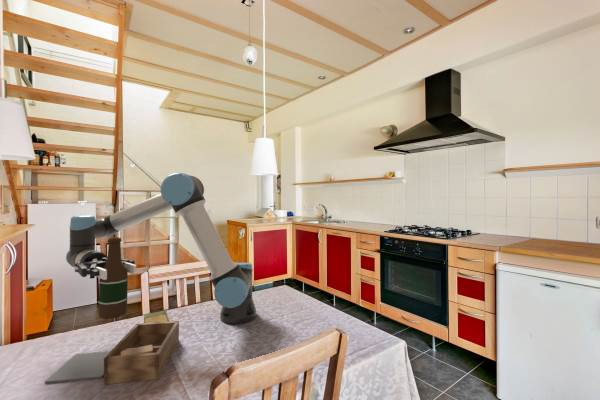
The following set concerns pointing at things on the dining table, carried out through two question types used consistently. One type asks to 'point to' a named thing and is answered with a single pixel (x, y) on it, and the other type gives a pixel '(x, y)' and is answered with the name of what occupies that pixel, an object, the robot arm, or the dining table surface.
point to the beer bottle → (113, 283)
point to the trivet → (81, 368)
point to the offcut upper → (138, 350)
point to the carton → (156, 317)
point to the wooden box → (142, 364)
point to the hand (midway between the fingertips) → (120, 272)
